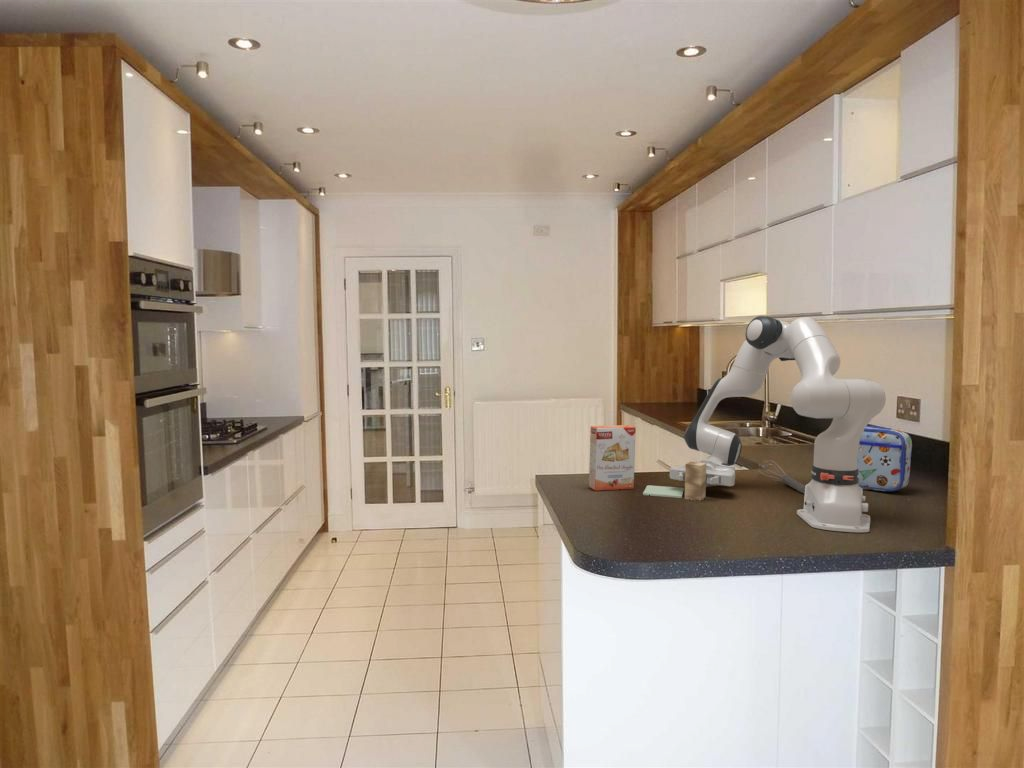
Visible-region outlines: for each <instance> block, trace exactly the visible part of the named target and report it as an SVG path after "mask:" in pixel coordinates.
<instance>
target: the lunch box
mask: <svg viewBox="0 0 1024 768" xmlns="http://www.w3.org/2000/svg"><path fill="white" fill-rule="evenodd" d="M912 448H913V442H912V438H911V436H910V435H909V434H908V433H906V432H904V431H901V430H897V429H892V428H889V427H888V428H886V427H882V426H877V425H876V426H875V425H868V424H867V426H866V428H865V429H864V431H863V433H862V436H861V439H860V442H859V449H858V460H857V469H858V470H859V483H858V485H859V486H860V487H861V488H862V489H863V490H867V491H870V490H871V491H878V492H879V491H881V492H896V491H898V490H901V489H904V488H906V487H907V486H908V484H909V481H910V474H911V473H910V472H911V459H912Z"/></svg>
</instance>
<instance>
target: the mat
mask: <svg viewBox="0 0 1024 768" xmlns="http://www.w3.org/2000/svg"><path fill="white" fill-rule="evenodd" d="M684 493H685V487H678V486H676V487H675V486H665V485H664V486H663V485H662V486H661V485H646V487H645V489H644V491H643V492H642V496H649V495H650V496H653V497H662V498H663V497H666V498H675V499H676V498H677V499H682V498H683V495H684Z"/></svg>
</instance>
